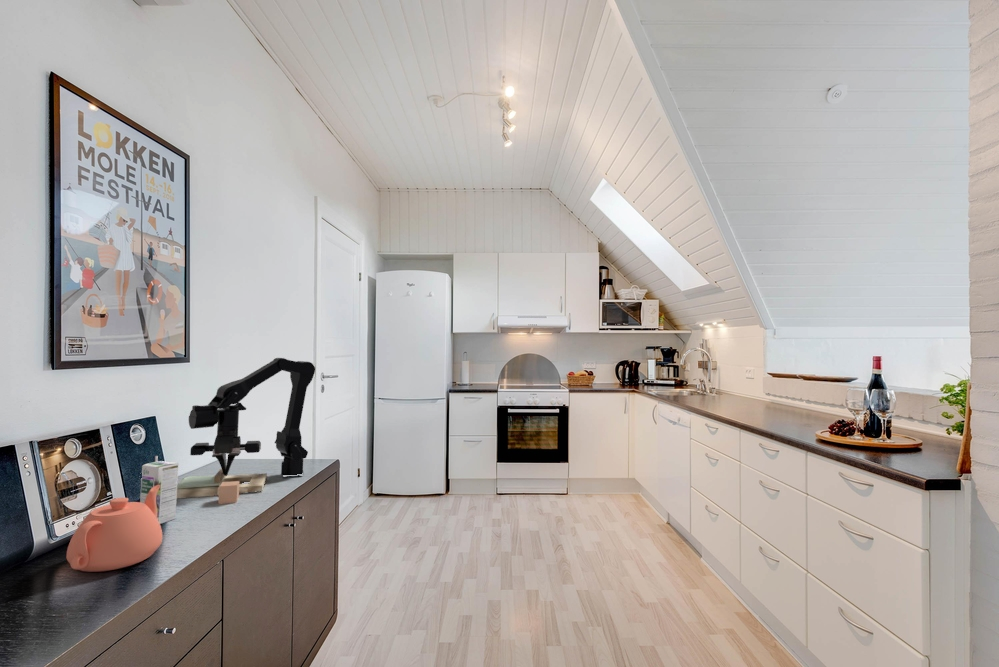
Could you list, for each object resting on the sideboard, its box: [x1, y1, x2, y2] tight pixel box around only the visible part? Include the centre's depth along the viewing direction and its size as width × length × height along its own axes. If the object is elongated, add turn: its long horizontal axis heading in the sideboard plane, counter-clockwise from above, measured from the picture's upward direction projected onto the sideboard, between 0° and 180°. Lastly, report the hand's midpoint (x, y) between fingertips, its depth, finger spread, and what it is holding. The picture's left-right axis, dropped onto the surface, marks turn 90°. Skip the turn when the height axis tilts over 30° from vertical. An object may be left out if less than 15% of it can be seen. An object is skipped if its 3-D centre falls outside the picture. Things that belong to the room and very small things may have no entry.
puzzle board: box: [177, 472, 268, 499], centre depth 152 cm, size 24×15×2 cm, turn 111°
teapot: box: [66, 485, 163, 573], centre depth 102 cm, size 22×16×12 cm
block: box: [218, 481, 240, 505], centre depth 140 cm, size 4×4×5 cm
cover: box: [177, 468, 226, 488], centre depth 150 cm, size 11×11×3 cm
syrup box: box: [139, 460, 180, 525], centre depth 123 cm, size 6×6×14 cm
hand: (225, 475), depth 152 cm, fingers closed
